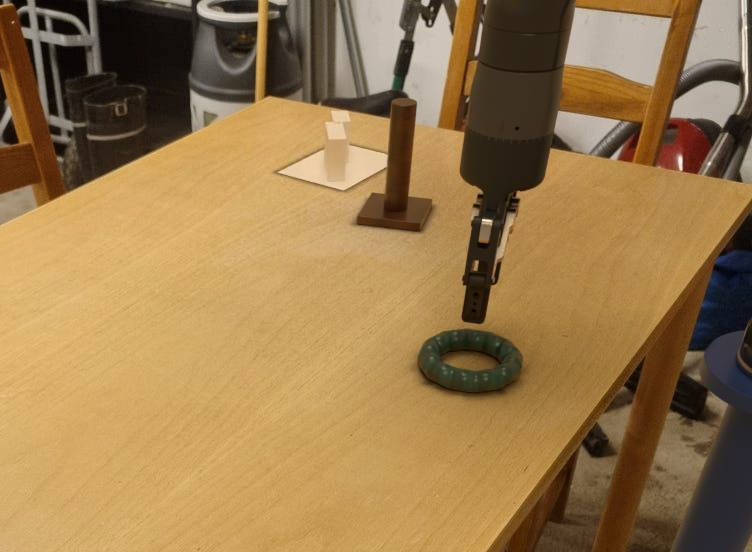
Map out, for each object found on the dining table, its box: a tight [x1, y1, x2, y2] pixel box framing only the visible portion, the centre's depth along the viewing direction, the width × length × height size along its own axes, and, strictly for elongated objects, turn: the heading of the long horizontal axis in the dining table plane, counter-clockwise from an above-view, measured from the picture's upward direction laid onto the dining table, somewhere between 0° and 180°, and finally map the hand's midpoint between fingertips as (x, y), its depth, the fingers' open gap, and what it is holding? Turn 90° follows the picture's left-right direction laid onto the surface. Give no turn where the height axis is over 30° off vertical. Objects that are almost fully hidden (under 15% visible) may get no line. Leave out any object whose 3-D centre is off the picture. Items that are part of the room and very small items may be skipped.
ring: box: [417, 327, 524, 394], centre depth 91 cm, size 10×10×2 cm
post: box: [356, 97, 433, 232], centre depth 113 cm, size 8×8×13 cm
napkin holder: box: [277, 110, 388, 192], centre depth 128 cm, size 15×11×6 cm
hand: (479, 301), depth 91 cm, fingers open, 8 cm apart
